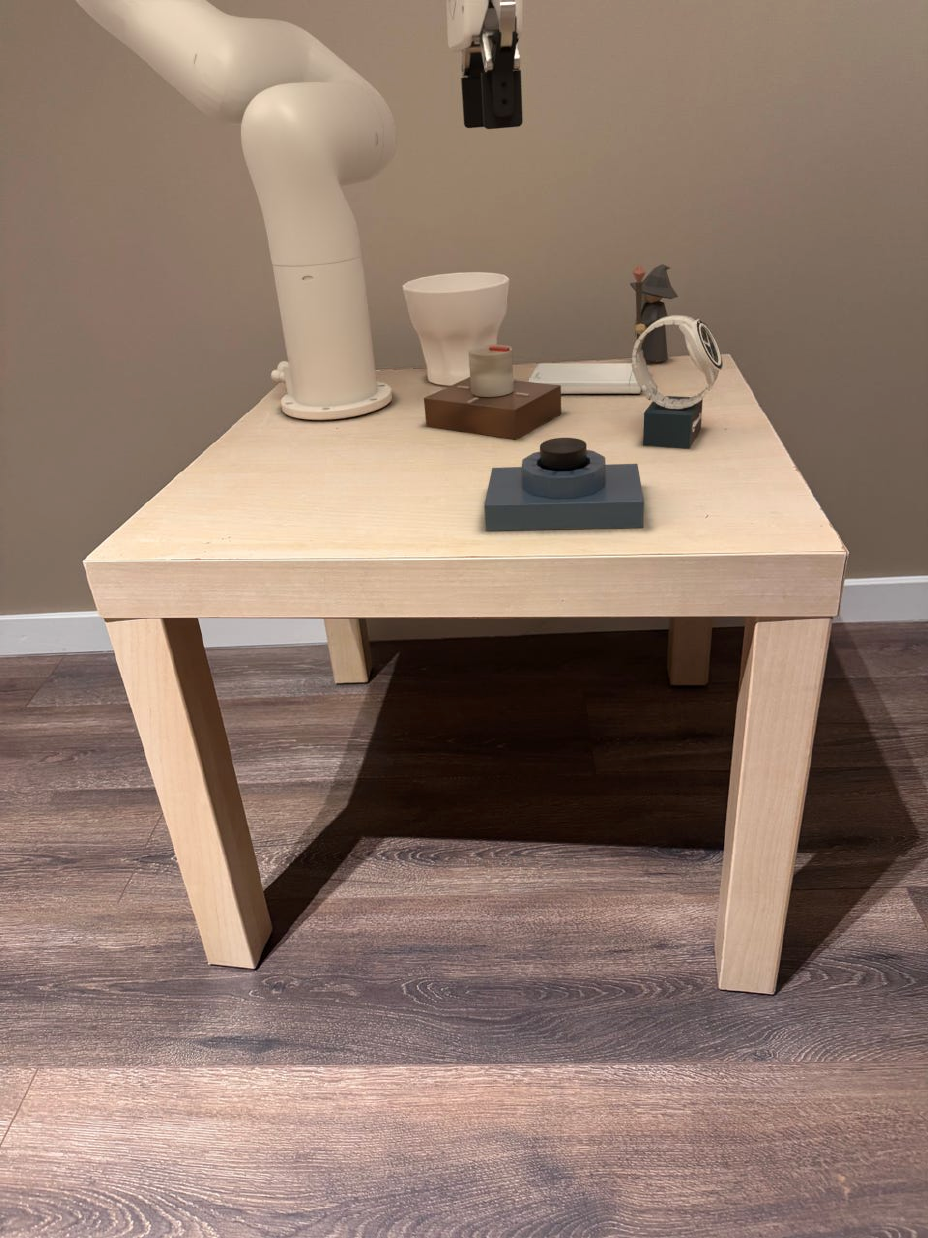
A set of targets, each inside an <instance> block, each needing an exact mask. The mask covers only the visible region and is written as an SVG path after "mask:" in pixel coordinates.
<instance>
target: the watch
mask: <svg viewBox="0 0 928 1238" xmlns="http://www.w3.org/2000/svg"><path fill="white" fill-rule="evenodd" d="M664 324H665V326H671V325H675V326H678V328H679V330H680V332H681V333H682V334H683V336H684V343H685V345H686V349H687V352H688V354H689V356H690V358H691V360H692V361H693V364H694V365H695V366H696V368H697V369H698V370H699V371H700V372H701V373H702V374H704V377H705V380H706V383H707V384H708V385H707V386H705V389H704V390H701V392H698V394H697V395H694V396H678V395H677V396H673V395H664V394H661V392H660V391H658V388H659V387H658V385H657V384H656V382H655V380H654V379H653V377H652V375H651V373H650V370H649V368H648V366H647V365H648V364H646V362H645V359H644V357H643V350H641V347H642V343H643V340H644V338H645V336H646V335H647V334H648V333H649V332H650V331H651V330H653V329H654V328H657V327H659V326H663V325H664ZM631 358H632V359H631V362H630V363H631V365H632V369H633V372H634V375H635V378H636V381H637V383H638V385H639V387H640V388H641V393H643V396H644V397H645V398H646V399H647V400H648V401H652V402H651V403H650V404H649V405H648V407H647V408H646V409H645V411H644V412H643V427H642V428H643V429H642V431H643V432H642V446H645V447H660V448H661V447H662V448H675V449H676V448H677V449H687V450H688V449H691V447H692V445H694V442H695V440H696V438H697V437H698V435H699V433H700V431H702V418H703V417H702V416H703V403H704V402H703V401H704V399H705V397H706V396H707V395H708V394H709V392H710V391H711V389H712V387H713V386H714V385H715V383H716V381H717V379H718V377H719V373H720V371H721V370H723V367H724V366H723V364H724V363H723V357H722V354H721V350H720V348H719V345H718V343H717V341H716V338H715V336H714V335H713V332H712V331H711V330H710V328H709V327H708V326H707V323H705V322H704V321H703V320H702V319H699V318H697V319H696V320H695V319H694V318H693V317H691V316H688V315H683V314H681V315H680V314H672V315H667V317H664V318H661V319H660V320H657V321H656V322H654V323H653V324H652V325H650V326H649V327H648V328H647V329H646V330H645V331H644V332H643V333H642V334H640V337H639V339H638V340H637V339H636V341H635V343H634V345H633V349H632V354H631Z"/></svg>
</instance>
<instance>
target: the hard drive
mask: <svg viewBox="0 0 928 1238" xmlns="http://www.w3.org/2000/svg"><path fill="white" fill-rule="evenodd" d="M527 382H535V383H544V384H553V385H561V395H627V394H628V395H629V394H630V395H632V394H633V395H638V394H639V395H640V394H641V393H642V390H641V388H640V387H639V385H638V383H637V381H636V378H635V375H634V372H633V369H632V365H631V362H629V363H628V362H624V363H623V362H622V363H619V362H617V363H616V362H615V363H614V362H613V363H610V362H609V363H606V362H605V363H602V362H601V363H599V362H597V363H596V362H595V363H593V362H592V363H586V362H585V363H537V365H536V367H535V369H534V370H533V372H532V374H531V375H530V377H529V379H528V380H527Z"/></svg>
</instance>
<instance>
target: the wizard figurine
mask: <svg viewBox="0 0 928 1238" xmlns="http://www.w3.org/2000/svg"><path fill="white" fill-rule="evenodd" d="M670 269H671V267H670V266H668V265H665V264H664V263H663V264H659V265H657V266H655V267H654V268H652V270H651V271H650V272H649V273H648V274H647V275H646V276H645V274H646V271H645V269H644V268H643V267H642V265H641V264H640V263H638V264H637V266H636V267H635V269H634V270H633V271H632V275H633V277H634V279H635V280H636V282H630V287H631V288H632V289H633V290H634V291H635V306H636V307H635V311H636V312H635V313H636V316H635V322H634V338H636V341H637V340H638V339H639V337H640V335H641V334H642V333H643V332H644V331H645V330H646V329H647V328H648V327H649V326H650V325H652V324H653V323H654V322H656V321H657V320H660V319H661V318H664V317H667V316H668V312H667V309H666V304H665V302H664V301H661V300H663V299H667V300H673V299H676V298H678V297H679V295H678V294H677V292H676V291H675V289H674V288H673V286H672V284H671V281H670V278H669V275H668V272H667V270H670ZM644 277H645V278H644ZM641 350H643V357H644V359H645V362H646V365H653V364H654V365H655V364H657V362H664V361H666V360H668V359H669V357H668V355H669V354H668V341H667V331H666V325H665V324H664V325H663V326H659V327H657V328H654V329H653V330H651V331H650V332H649V333H648V334H647V335H646V336H645V338H644V340H643V343H642V347H641Z"/></svg>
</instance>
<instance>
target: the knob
mask: <svg viewBox="0 0 928 1238" xmlns="http://www.w3.org/2000/svg"><path fill="white" fill-rule="evenodd" d="M468 353H469V368H470V383H471V393H472V394H473V395H475V396H479V397H498V396H503V395H507V394H510V393H512V392H513V391H514V381H513V379H514V360H513V347H512V346H511V345H506V344H499V343H497V344H492V345H482V346H477V347H474V348H471V349H470V350H469V351H468Z"/></svg>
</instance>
